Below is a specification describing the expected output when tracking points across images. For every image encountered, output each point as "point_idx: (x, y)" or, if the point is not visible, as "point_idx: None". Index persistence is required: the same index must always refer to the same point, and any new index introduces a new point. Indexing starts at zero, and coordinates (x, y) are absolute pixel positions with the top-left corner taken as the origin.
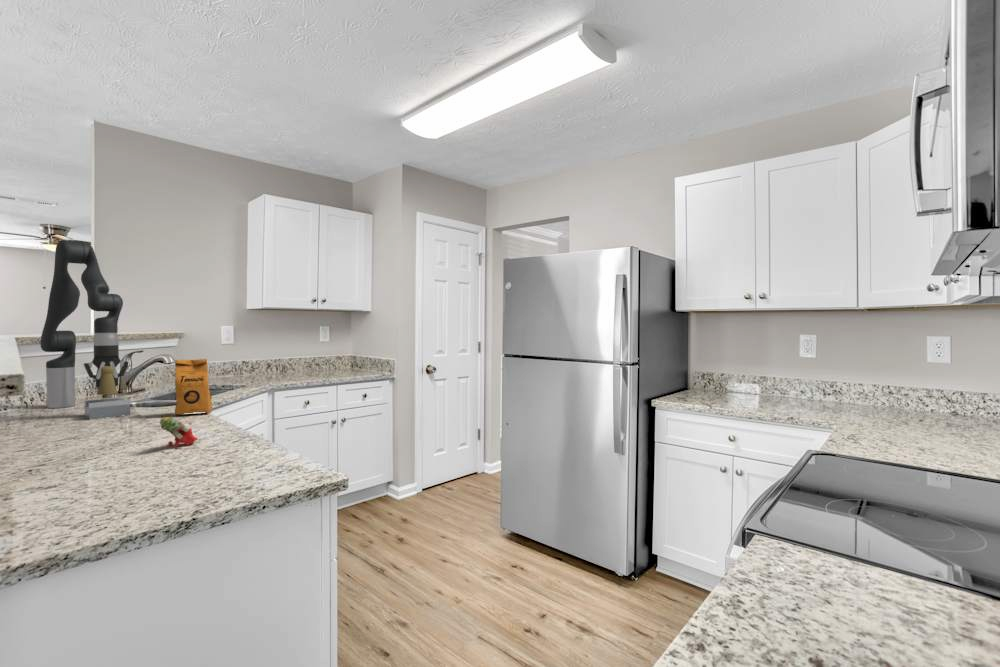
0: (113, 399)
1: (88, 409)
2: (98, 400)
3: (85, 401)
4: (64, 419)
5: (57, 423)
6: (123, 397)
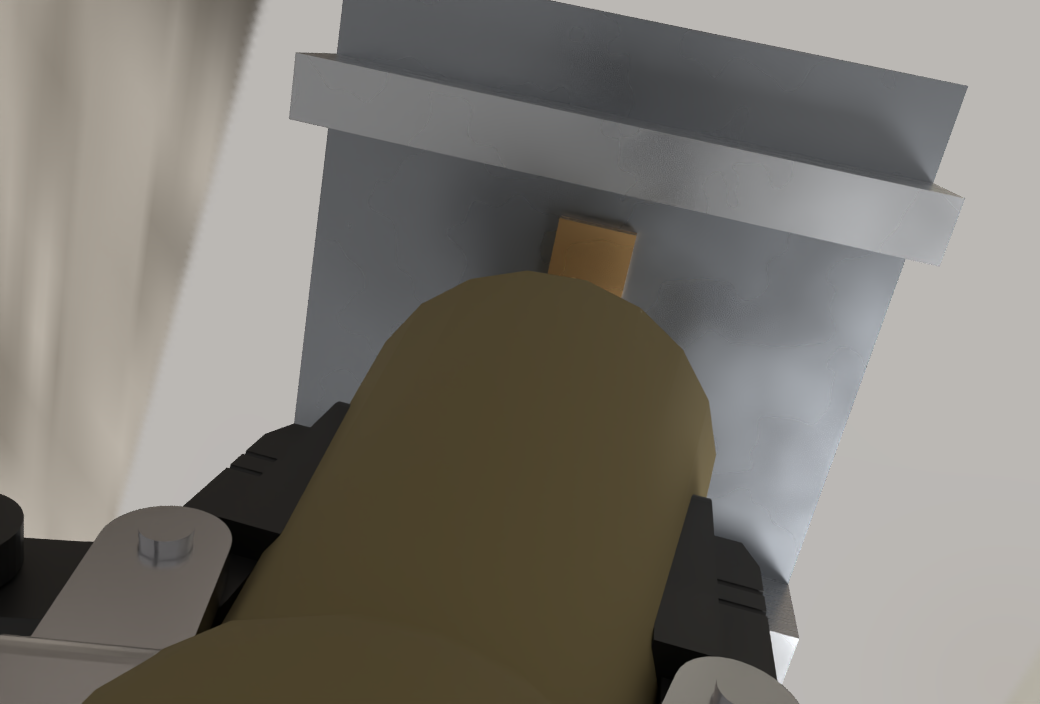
0: (735, 217)
1: (302, 420)
2: (489, 162)
3: (297, 100)
4: (157, 131)
5: (67, 386)
6: (925, 252)
